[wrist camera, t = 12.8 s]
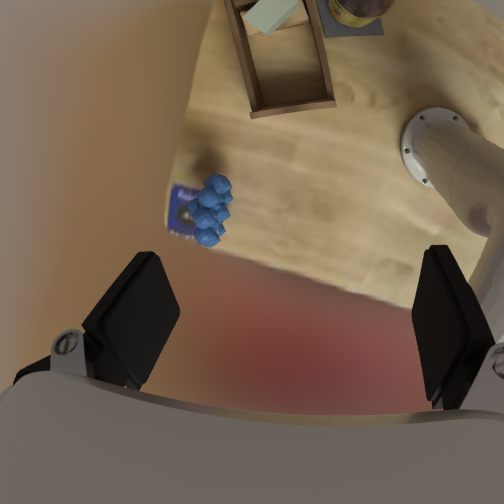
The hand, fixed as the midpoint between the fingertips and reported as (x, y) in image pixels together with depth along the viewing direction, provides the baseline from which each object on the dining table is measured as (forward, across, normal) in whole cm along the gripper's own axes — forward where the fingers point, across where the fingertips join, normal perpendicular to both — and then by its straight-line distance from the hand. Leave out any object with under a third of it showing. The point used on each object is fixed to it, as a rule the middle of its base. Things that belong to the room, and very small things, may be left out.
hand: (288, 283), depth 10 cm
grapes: (+36, +16, +10) cm, 40 cm away
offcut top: (+32, +3, -16) cm, 36 cm away
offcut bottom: (+36, +3, -15) cm, 39 cm away
